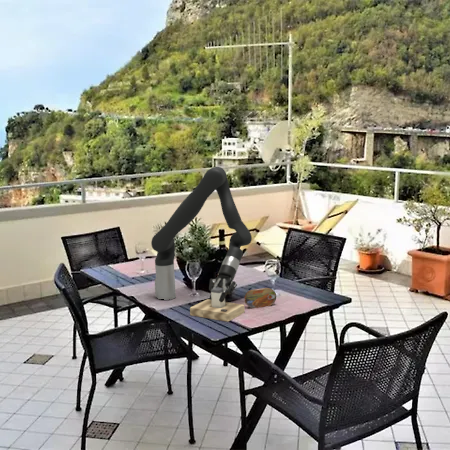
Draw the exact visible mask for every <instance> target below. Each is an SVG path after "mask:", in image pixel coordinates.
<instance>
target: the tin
mask: <svg viewBox="0 0 450 450" xmlns="http://www.w3.org/2000/svg"><path fill="white" fill-rule="evenodd" d="M276 293H277V292H275V290H274V289H272V288H269V287H265V288H263V287H262V288H255V289H250V290H248V291H247V292H246V293H245V295H244V298H243V299H244V303H245V304H246V305H247V307H248V308H250V309H259V308H265V307H271V306H272V305H274V304H275V302H276V300H277V294H276Z"/></svg>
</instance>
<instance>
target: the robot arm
mask: <svg viewBox="0 0 450 450" xmlns="http://www.w3.org/2000/svg"><path fill="white" fill-rule="evenodd" d="M230 188H231V187H230V185H229V181H228V176H227V173H226V170H225V169H224V168H222V167H221V166H213V167H211V168H209V169H208V170H206V172H205V173H204V175H203V177H202V178H201V180H200V181H199V183H198V185H197V186H196V187H195V188H194V189H193V190H192V191H191V192H190V193H189V194H188V195H187V196H186V197H185V199H183V201H182V202H181V203H180V204H179V205H178V207H177V208H176V210H175V211H174V212H173V214H172V215H171V216H170V218H169V219H168V221H167V222H166V223H165V224H164V225H163V226H162V227H161V229H159V231H157V233H155V234H154V235H153V236H152V238H151V241H150V242H151V243H150V244H151V245H150V246H151V247H152V249H153V250H154V251H155V252H157V253H156V256H155V259H154V264H155V265H154V267H155V279H154V294H155V298H156V297H157V298H158V299H157V298H156V299H157V300H159V299H164V300H163V301H169V299H170V300H174V299H175V298H176V296H177V295H176V294H177V293H176V278H175V276H176V275H175V256H176V255H175V254H176V253H175V252H176V247H175V246H176V244H175V238H176V236H177V235H178V234H179V233H180V232H181V231H183V230H184V229H185V228H186V227H187V226H188V225H189V224H190V223H191V222H193V220H194V219H195V218H196V216H198V214H199V213H200V212H201V210H202V208H203V207H204V205H205V203H206V201H207V199H208V198H209V197H210V196H211V195H212V194H213V193H214V192H215V191H216V193H217V195H218V198H219V201H220V206H221V212H222V213H223V214H222V215H223V217H224V221H225V223H226V225H227V226H228V228H229V229H230V230H234V231H235V232H234V233H232V235H231V236H230V238H229V244H228V250H227V252H226V255H225V257H224V259H223V261H222V263H221V265H220V269H219V271H218V273H217V277H215V278H210V279H209V284H208V285H209V286H208V290H209V291H210V292H211V289H213V288H216V287H219V288H223V293H222V294H221V296H220V299H219V301H220V302H223V301H224V299H225V300H226V297H227V295H229V296H230V295H231V294H233V292H234V291H235V289H236V287H237V286H238V284H237V282H236V281H235V280H234V279H235V277H236V274H237V271H238V269H239V266H240V263H241V260H242V258H243V254H244V252H243V249H241V247H245V246H249V245H250V244H251V243H252V238H253V237H252V233H251V231H250V230H249V228H248V227H247V225H246V224H245V223H244V222H243V221H242V220H243V219H242V218H241V216H240V213H239V211H238V208H237V206H236V202H235V200H234V197H233V195H232V191H231V189H230ZM209 300H211V301H212V298H211V294H210V295H209Z"/></svg>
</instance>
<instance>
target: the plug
mask: <svg viewBox="0 0 450 450" xmlns="http://www.w3.org/2000/svg"><path fill="white" fill-rule="evenodd" d="M222 293H223V288H219V287H218V286H217V287H216V288H213V289H211V291H210V295H211V298H212V307H215V308H222V307H224V306H225V302H226V298H225V299H224V301H223V302H220V301H219V299H220V296H221V294H222Z"/></svg>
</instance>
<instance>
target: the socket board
mask: <svg viewBox="0 0 450 450" xmlns="http://www.w3.org/2000/svg"><path fill="white" fill-rule="evenodd" d="M245 310H246V309H245V304H240V303H233V302H228V301H225V306H224V307H222V308H215V307H212V301H211V300H210V298H209V299H205V300H203V301H200V302H199V303H196V304H195V305H192V306H191V307H190V308H189V313H190V315H189V316H193V317H200V318H206V319H211V320H216V321H222V322H230V321H232V320H233V319H235V318H237V317H239V316H241V315H243V314H244V313H245V312H246V311H245Z"/></svg>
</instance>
